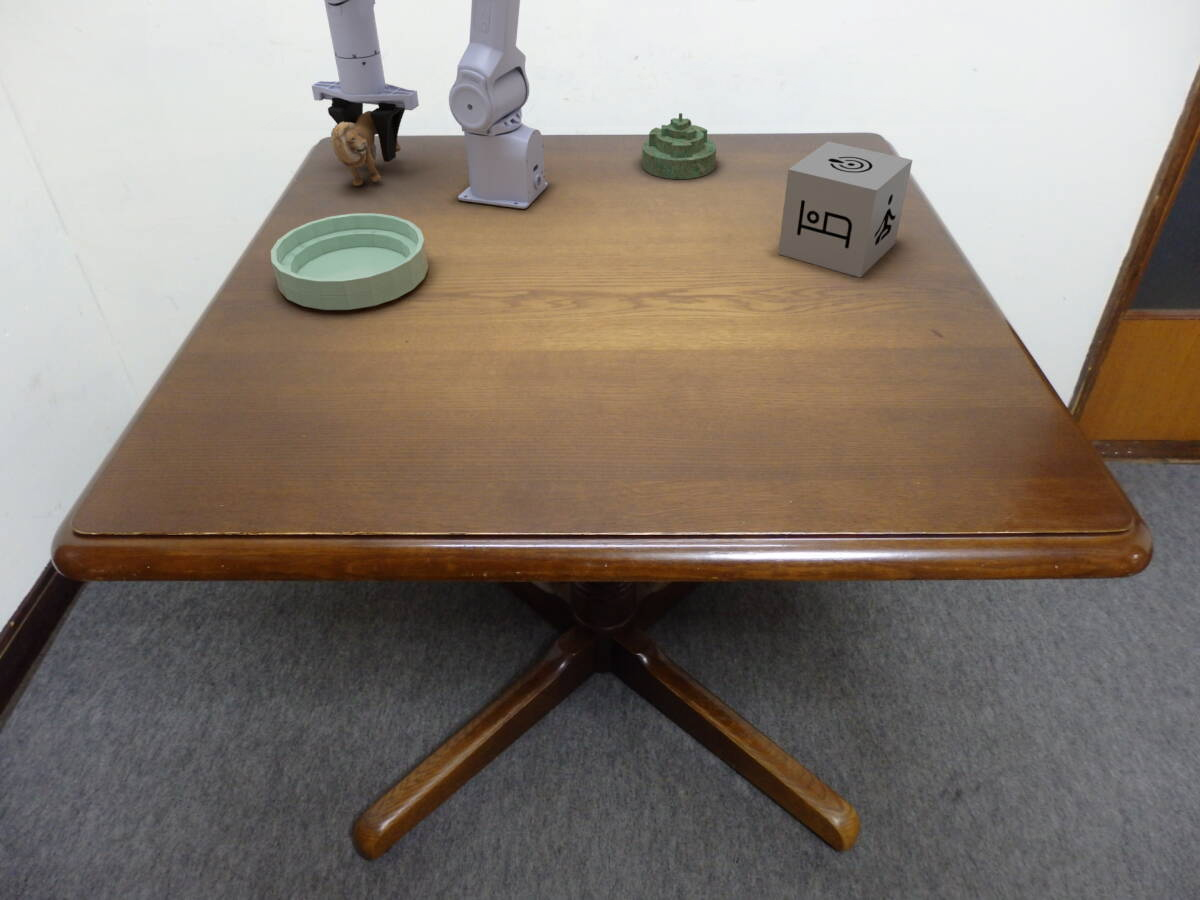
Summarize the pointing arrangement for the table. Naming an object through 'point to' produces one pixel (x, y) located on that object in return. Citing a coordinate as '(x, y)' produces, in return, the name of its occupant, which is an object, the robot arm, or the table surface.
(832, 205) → the icon cube
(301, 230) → the bowl
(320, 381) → the table surface
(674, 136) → the decorative artifact
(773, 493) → the table surface
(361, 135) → the lion figurine
